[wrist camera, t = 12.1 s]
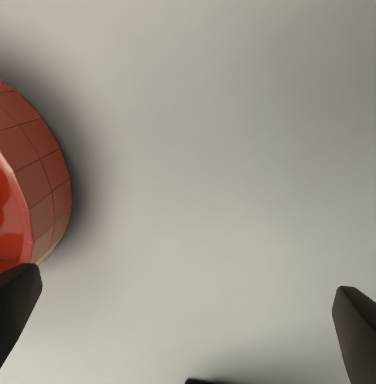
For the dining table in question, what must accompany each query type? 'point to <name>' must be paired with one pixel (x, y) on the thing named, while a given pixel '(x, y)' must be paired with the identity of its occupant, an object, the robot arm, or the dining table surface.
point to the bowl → (29, 184)
